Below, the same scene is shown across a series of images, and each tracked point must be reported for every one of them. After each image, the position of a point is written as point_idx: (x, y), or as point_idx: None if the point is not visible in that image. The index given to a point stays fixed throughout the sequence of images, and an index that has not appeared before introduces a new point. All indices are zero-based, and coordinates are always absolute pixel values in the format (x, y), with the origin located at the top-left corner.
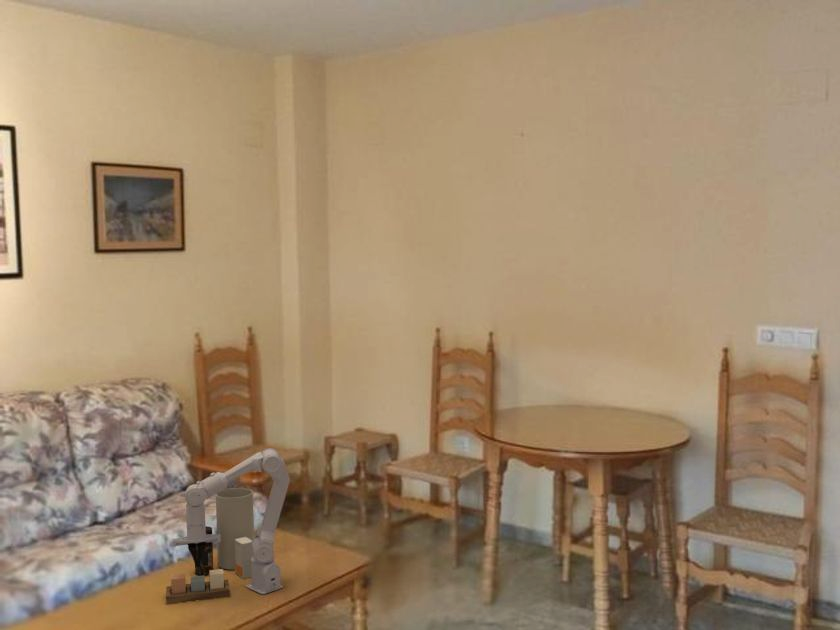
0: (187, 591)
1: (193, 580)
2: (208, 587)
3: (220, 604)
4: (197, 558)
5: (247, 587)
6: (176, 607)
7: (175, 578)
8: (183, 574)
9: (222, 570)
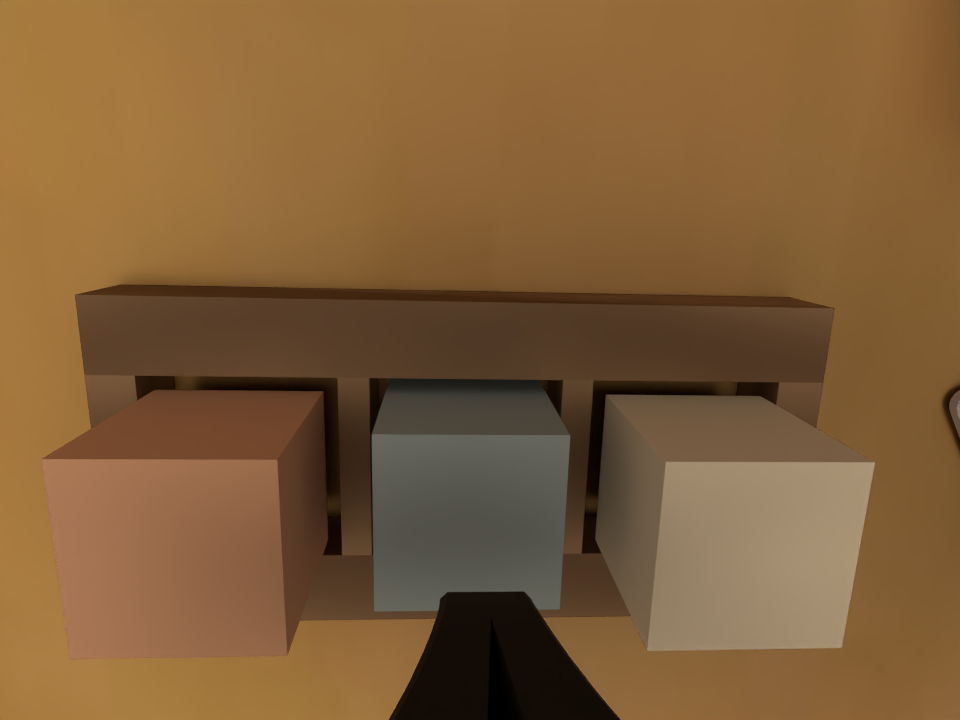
0: (346, 528)
1: (411, 576)
2: (582, 485)
3: (643, 703)
4: (504, 680)
5: (958, 428)
6: (256, 663)
7: (133, 634)
8: (250, 510)
9: (853, 526)
